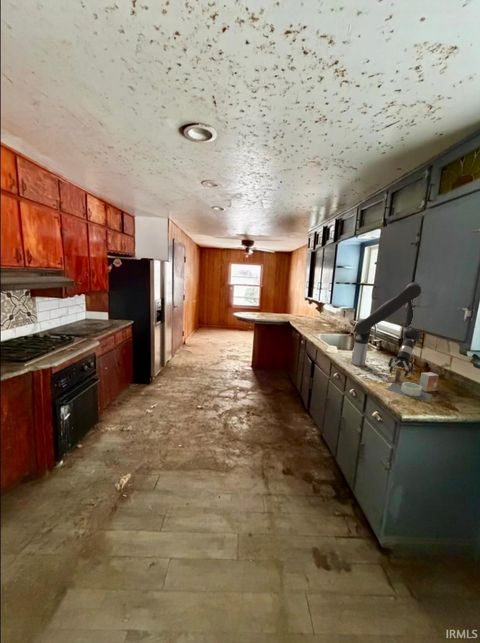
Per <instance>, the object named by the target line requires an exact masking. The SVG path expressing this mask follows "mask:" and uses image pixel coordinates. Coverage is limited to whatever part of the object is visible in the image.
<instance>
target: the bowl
mask: <svg viewBox="0 0 480 643" xmlns="http://www.w3.org/2000/svg"><path fill="white" fill-rule="evenodd" d="M401 386H402V387H401V391H402V392H403V393H404V394H406V395H409V396H414V397H418V396H420V395H421V392H423V390H422V387H421V386H420V385H419V384H418V383H414V382H408V381H407V382H403V384H402V385H401ZM409 396H408V397H409Z"/></svg>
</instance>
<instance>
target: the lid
mask: <svg viewBox="0 0 480 643" xmlns="http://www.w3.org/2000/svg"><path fill="white" fill-rule="evenodd" d="M401 375H402V370H401V369H396V371H395V377H394V376H390V377H387V378H386V380H387V381H388V382H390V383H391V384H396V385H400V386H402V384H403V382H408V381H407V380H405V379H404V378H401Z"/></svg>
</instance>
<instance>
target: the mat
mask: <svg viewBox="0 0 480 643" xmlns="http://www.w3.org/2000/svg"><path fill="white" fill-rule="evenodd" d="M401 387H402V385H399V384H394V383H391V384H390V386H388V387H387V389H386V391H389V392H393V393H396V394H399V395H403V396H405V397H409V398H413V399H417V400H420V401H422V402H427V403H429V402H430V400H431V398H432V397H433V394H432V393H429V392H426V391H422V392H421V395H420V396H418V397H414V396H409V395H406V394H404V393H403V392H402V391H401Z"/></svg>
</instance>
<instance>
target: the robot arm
mask: <svg viewBox="0 0 480 643" xmlns="http://www.w3.org/2000/svg"><path fill="white" fill-rule="evenodd" d="M417 283H418V282H414V281H413V282H409V284H407V285H406V287H405V288H404V289H403V290H402V291H401V292H400V293H399V294H398V295H395V297H393V298H391V299H389V300H388V301H386V302H384V303H382V304H381V305H380V306H379V307H378V308H377V309H375V310H374V311H373V312H372V313H371V314H370V315H369V316H367V317H366V318H365V319H363V320H361V321H359V322H358V323H356V325H355V327H354V331H355V332H356V337H355V338H354V346H353V351H352V355H351V361H350V364H352V365H354V366H359V367H365V366H366V360H367V355H368V354H367V352H368V348H369V347H368V346H369V341H370V337H371V331H372V328H373V327H374V326H376V325H377V324H379V323H381V322H383V321H385V320H386V319H388V318H389V317H391V316H392V315H394V314H395V313H396V312H397V311H398V310H400V309H401V308H402V307H403V306H404V305H406V304H407V307H406V308H407V309H406V320H405V325H406V326H407V327H408V326H409V325H410V324H411V321H412V318H413V310H412V306H411V300H412V299H414V298H416V297H418V296H419V297H420V295H421V293H422V286H421V285H420V284H419V283H418V284H417ZM419 285H420V286H421V287H420V286H419ZM421 334H422V333H421V331H420V332H419V331H416V330H414V329H412V328H410V329H409V328H406V329H404V330H403V331H402V336H403V338H402V343H401V346H400V348H399V351H398V353H397V357H396V358H395V359H394V358H393V357H391V358H389V359H390V360H389V362H388V364H387V365H388V367H389V370H388V371H389V373H390V374H393V370H394V369H395V368H396V367H398V368H402V369H403V368H404V369H405V373H404V376H403V377H405V378H406V377H408V375H409V373H413V371H414V366H415V363H414V362H410V360H411V357H412V355H413V350H414V348H415V342H414V341H418V340H420V339H421V336H422V335H421ZM408 366H410V368H409V367H408Z"/></svg>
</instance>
